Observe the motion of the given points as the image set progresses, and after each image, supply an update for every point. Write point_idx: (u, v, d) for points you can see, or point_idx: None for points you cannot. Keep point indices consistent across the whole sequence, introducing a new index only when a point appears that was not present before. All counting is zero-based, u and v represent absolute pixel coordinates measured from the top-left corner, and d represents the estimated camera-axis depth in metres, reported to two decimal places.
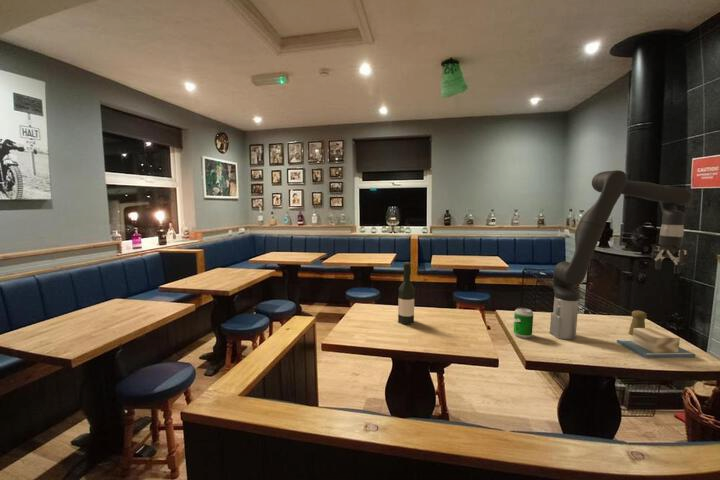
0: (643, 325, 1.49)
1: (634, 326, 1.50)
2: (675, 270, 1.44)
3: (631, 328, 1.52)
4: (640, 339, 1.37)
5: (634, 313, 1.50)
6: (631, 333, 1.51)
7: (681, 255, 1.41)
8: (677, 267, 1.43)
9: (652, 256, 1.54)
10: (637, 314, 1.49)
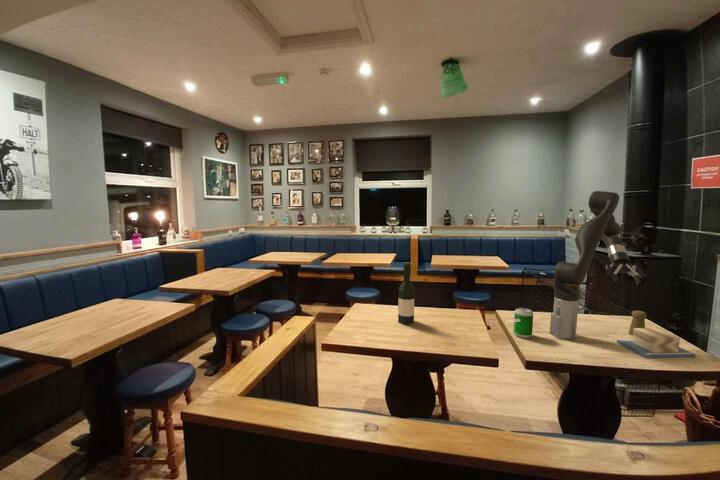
0: (643, 325, 1.49)
1: (634, 326, 1.50)
2: (639, 280, 1.60)
3: (631, 328, 1.52)
4: (640, 339, 1.37)
5: (634, 313, 1.50)
6: (631, 333, 1.51)
7: (639, 267, 1.63)
8: (638, 278, 1.61)
9: (610, 271, 1.64)
10: (637, 314, 1.49)
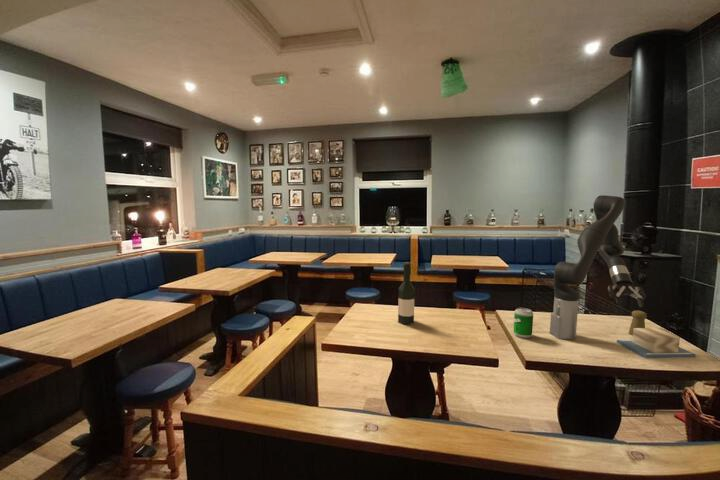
0: (643, 325, 1.49)
1: (634, 326, 1.50)
2: (642, 303, 1.56)
3: (631, 328, 1.52)
4: (640, 339, 1.37)
5: (634, 313, 1.50)
6: (631, 333, 1.51)
7: (642, 290, 1.59)
8: (642, 300, 1.57)
9: (612, 293, 1.61)
10: (637, 314, 1.49)
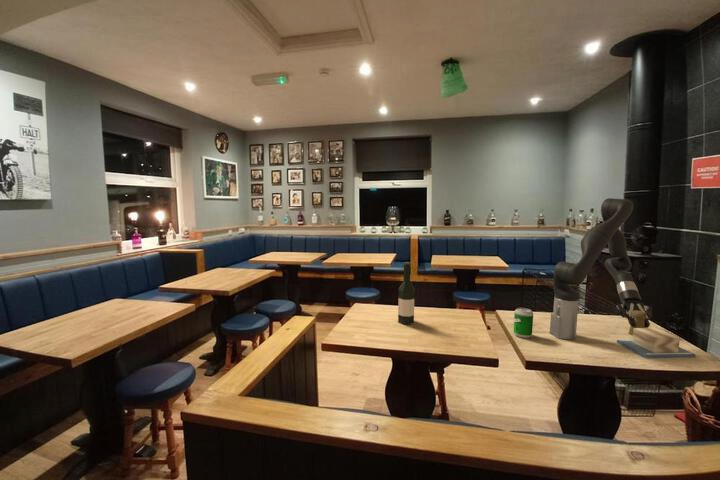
0: (643, 325, 1.49)
1: (634, 326, 1.50)
2: (648, 323, 1.49)
3: (631, 328, 1.52)
4: (640, 339, 1.37)
5: (634, 313, 1.50)
6: (631, 333, 1.51)
7: (650, 309, 1.52)
8: (647, 320, 1.50)
9: (625, 313, 1.53)
10: (637, 314, 1.49)
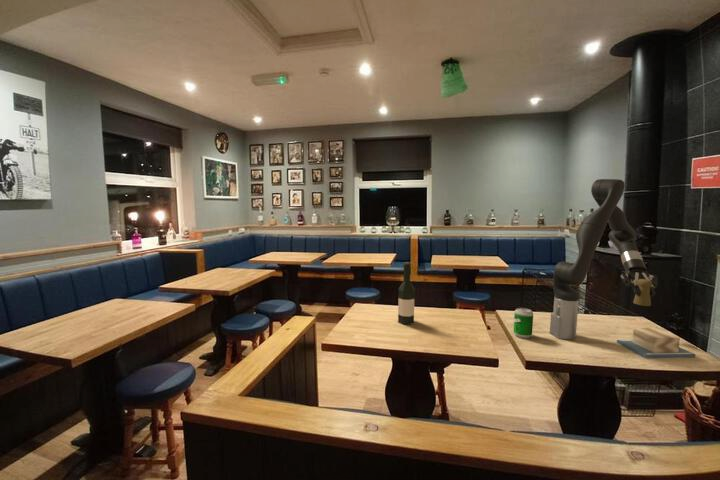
0: (648, 293, 1.45)
1: (639, 295, 1.46)
2: (653, 291, 1.45)
3: (636, 297, 1.48)
4: (640, 339, 1.37)
5: (639, 281, 1.46)
6: (636, 302, 1.47)
7: (655, 278, 1.48)
8: (652, 289, 1.46)
9: (630, 282, 1.49)
10: (643, 282, 1.45)
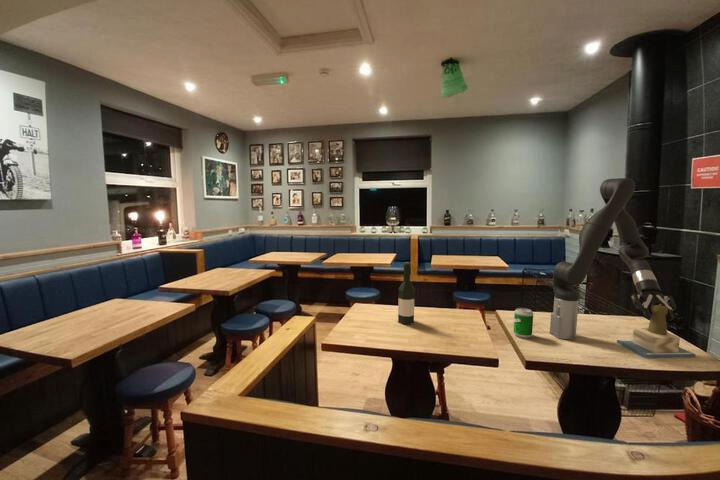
0: (664, 321, 1.34)
1: (654, 322, 1.35)
2: (672, 315, 1.33)
3: (650, 324, 1.36)
4: (640, 339, 1.37)
5: (654, 308, 1.35)
6: (651, 330, 1.36)
7: (672, 300, 1.36)
8: (671, 312, 1.34)
9: (639, 303, 1.37)
10: (658, 309, 1.34)
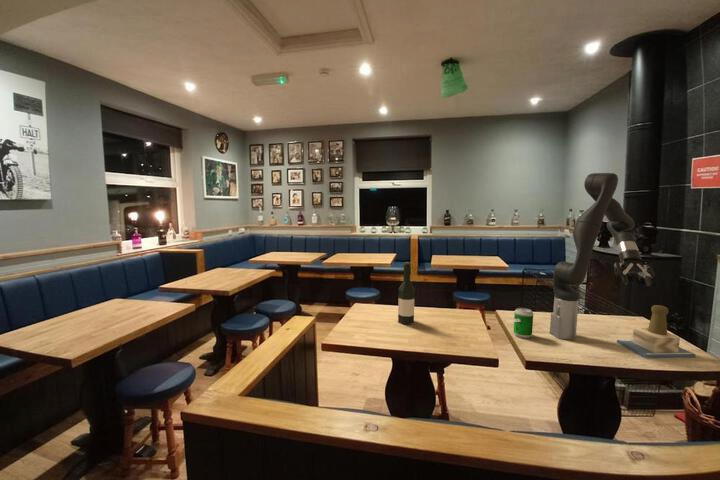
0: (664, 321, 1.34)
1: (654, 322, 1.35)
2: (650, 282, 1.45)
3: (651, 325, 1.36)
4: (640, 339, 1.37)
5: (654, 308, 1.35)
6: (651, 330, 1.36)
7: (651, 268, 1.48)
8: (650, 279, 1.46)
9: (619, 270, 1.49)
10: (658, 309, 1.34)
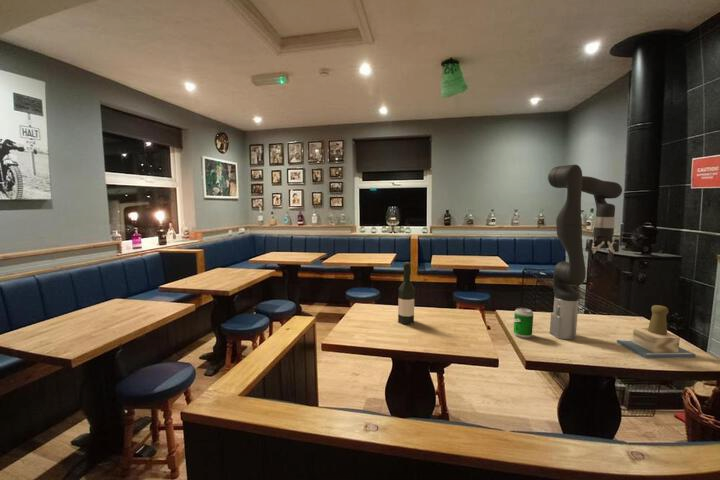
0: (664, 321, 1.34)
1: (654, 322, 1.35)
2: (612, 258, 1.56)
3: (651, 325, 1.36)
4: (640, 339, 1.37)
5: (654, 308, 1.35)
6: (651, 330, 1.36)
7: (618, 244, 1.55)
8: (612, 255, 1.56)
9: (590, 249, 1.55)
10: (658, 309, 1.34)
